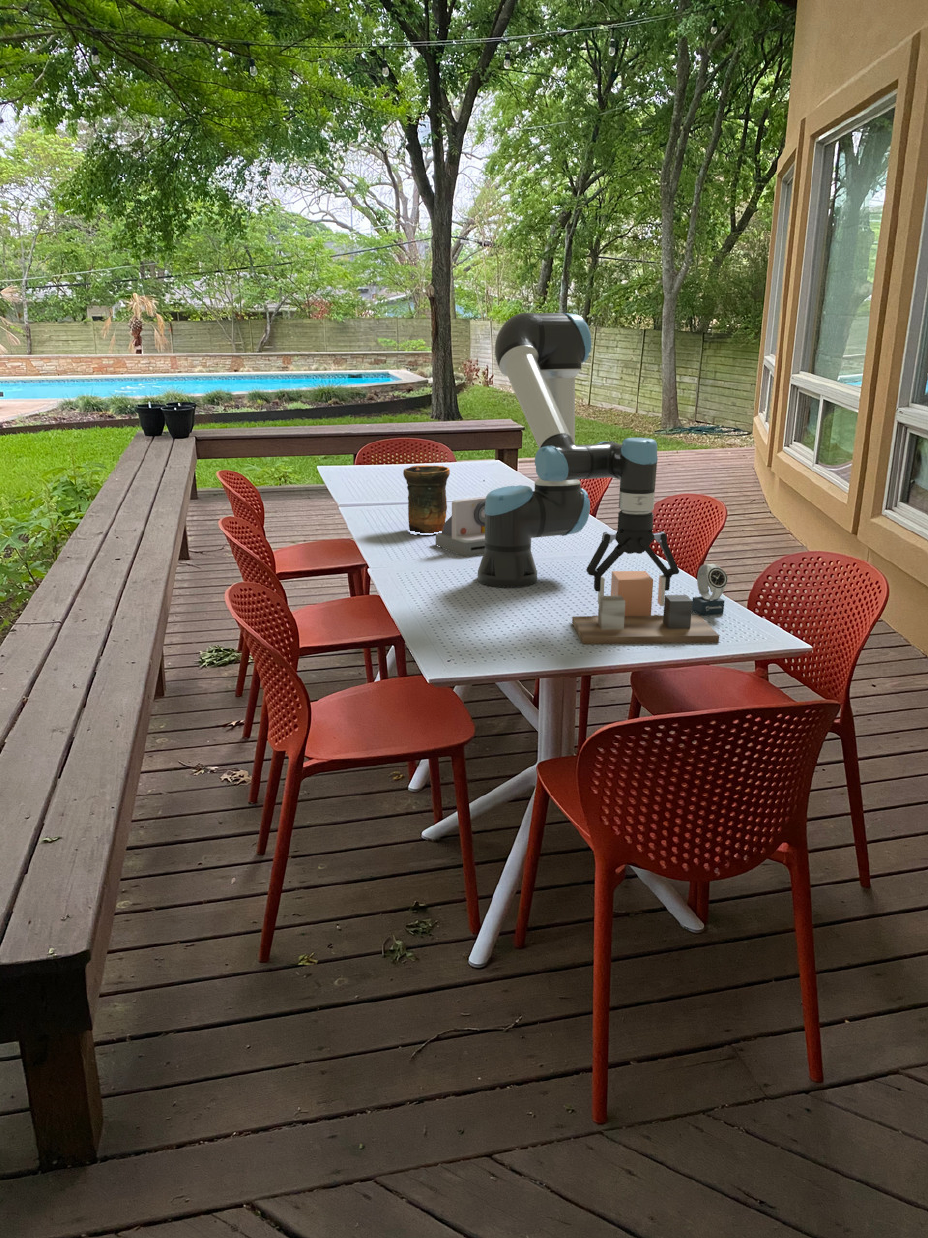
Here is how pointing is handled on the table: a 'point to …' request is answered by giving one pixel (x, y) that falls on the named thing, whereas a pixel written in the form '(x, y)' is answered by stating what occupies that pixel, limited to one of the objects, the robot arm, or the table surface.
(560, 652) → the table surface
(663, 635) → the post board
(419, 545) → the table surface
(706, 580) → the watch
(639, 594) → the peach cube
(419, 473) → the vessel
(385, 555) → the table surface
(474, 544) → the instant camera
